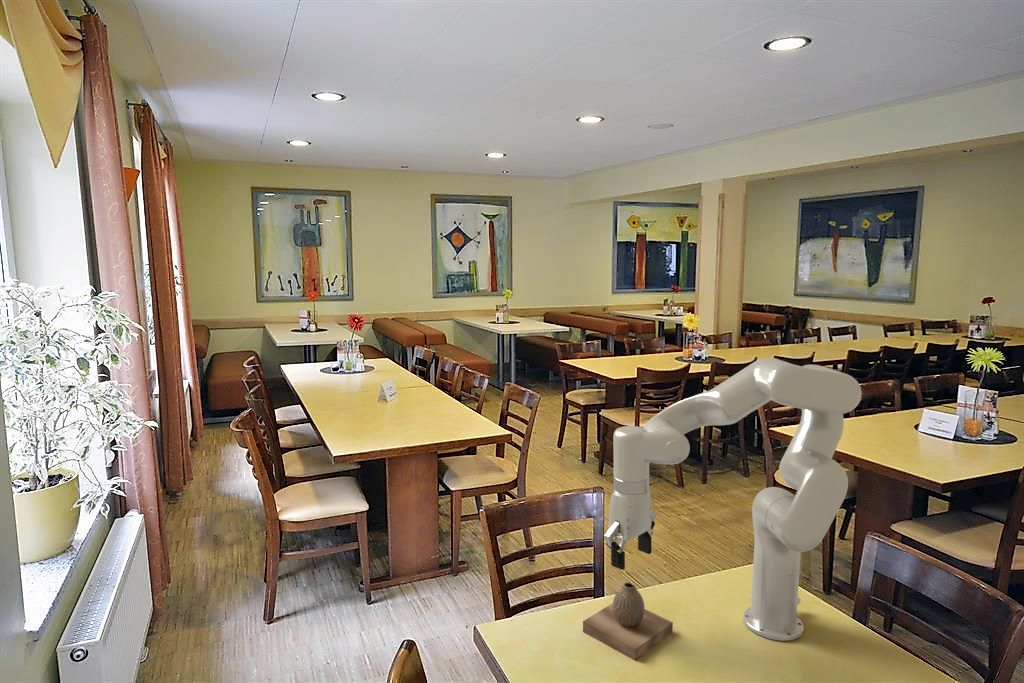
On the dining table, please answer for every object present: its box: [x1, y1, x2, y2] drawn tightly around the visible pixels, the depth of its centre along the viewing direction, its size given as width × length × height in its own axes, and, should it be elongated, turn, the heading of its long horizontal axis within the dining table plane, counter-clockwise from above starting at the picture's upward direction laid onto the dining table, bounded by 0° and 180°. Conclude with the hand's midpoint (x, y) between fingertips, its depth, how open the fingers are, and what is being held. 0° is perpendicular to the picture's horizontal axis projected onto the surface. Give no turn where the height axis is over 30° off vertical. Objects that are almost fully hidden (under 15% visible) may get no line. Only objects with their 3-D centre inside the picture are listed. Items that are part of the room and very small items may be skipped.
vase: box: [612, 582, 646, 627], centre depth 140 cm, size 7×7×9 cm
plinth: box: [582, 602, 674, 661], centre depth 141 cm, size 14×14×2 cm
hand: (631, 559), depth 139 cm, fingers open, 9 cm apart
